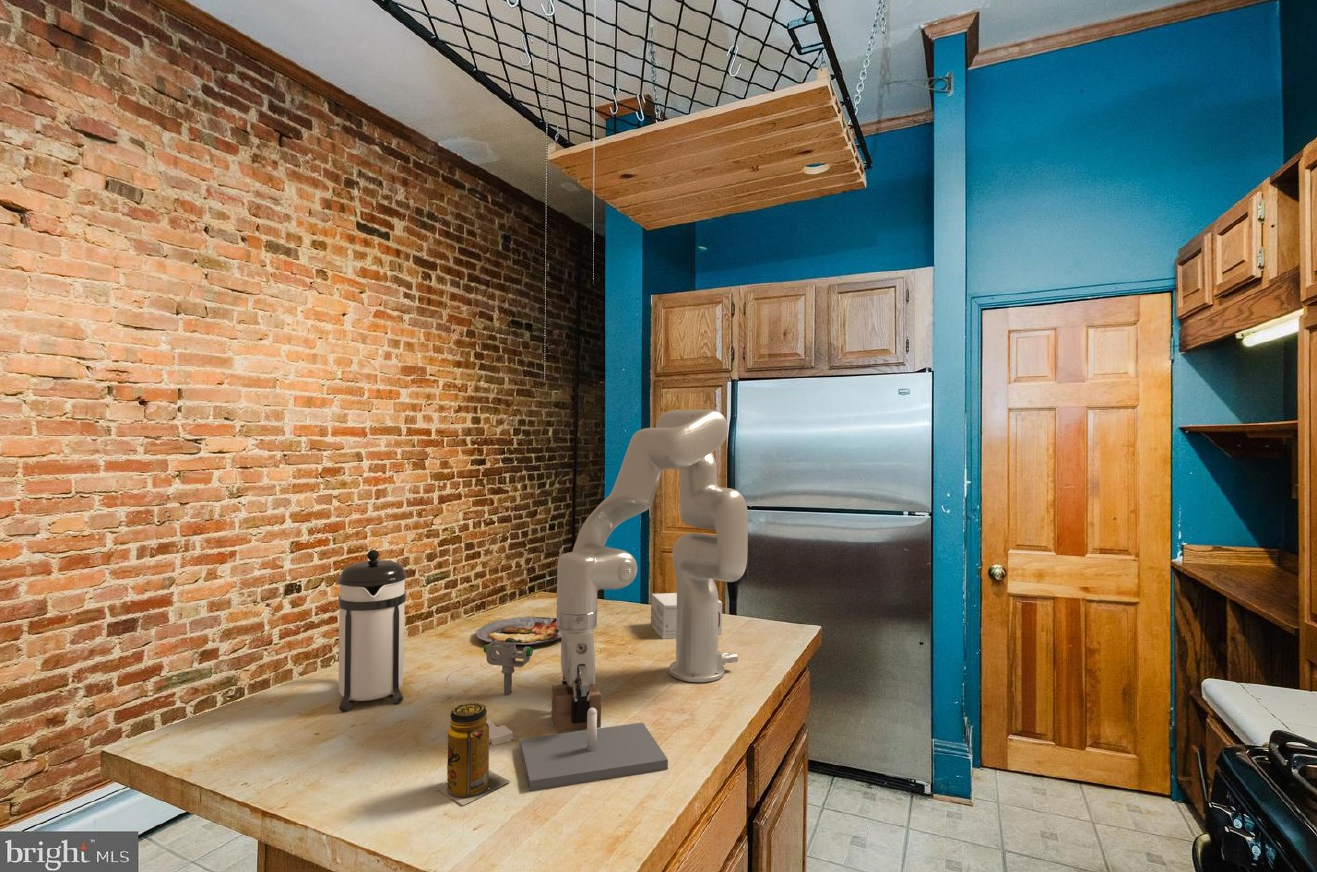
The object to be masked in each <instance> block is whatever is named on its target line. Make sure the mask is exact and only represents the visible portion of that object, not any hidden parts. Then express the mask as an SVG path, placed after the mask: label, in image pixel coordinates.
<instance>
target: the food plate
mask: <svg viewBox="0 0 1317 872" xmlns="http://www.w3.org/2000/svg"><path fill="white" fill-rule="evenodd" d="M556 621H557V617H546V616H545V617H543V616H528V615H527V616H517V617H512V618H505V619H499V620H495V621H492V622H491V621H490V622H488V623H487V624H486V623H485V624H484V625H482V626H481V627H480V628H478V629H477V630H476V634H475V635H476V637H477V638H479V639H480V640H482V641H485V642H487V643H491V642H497V643H512V644H515V645H526V646H527V645H532V646H533V645H539V644H543V643H551V642H554V641H555V640H560V639H561V637H562V634H561V633H562V631H559V630H557V628H556Z"/></svg>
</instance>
